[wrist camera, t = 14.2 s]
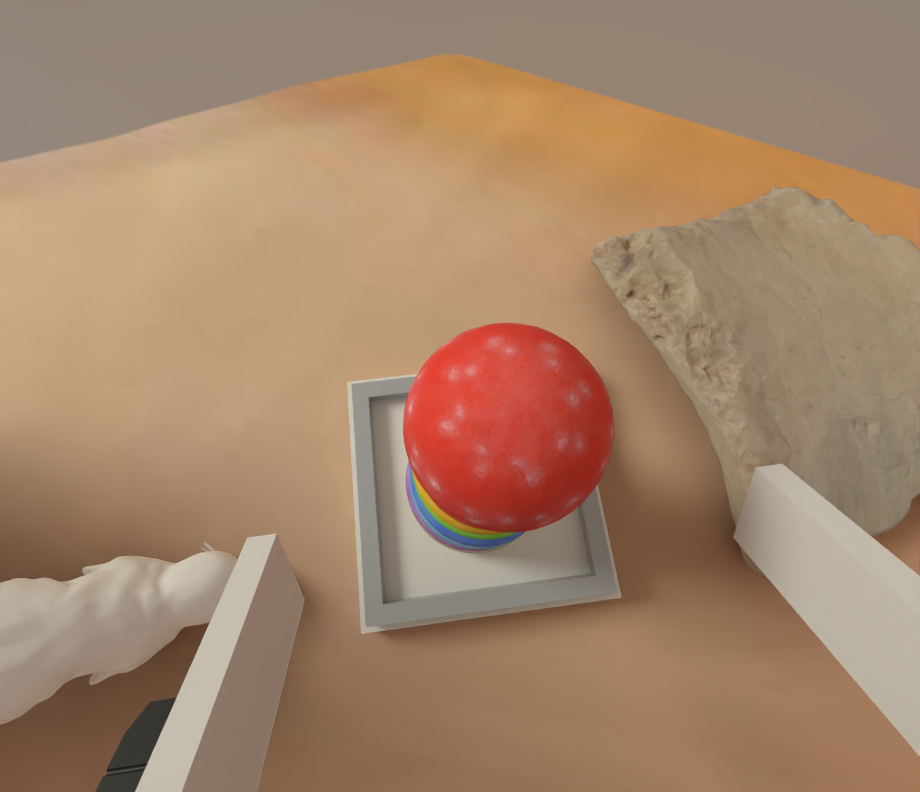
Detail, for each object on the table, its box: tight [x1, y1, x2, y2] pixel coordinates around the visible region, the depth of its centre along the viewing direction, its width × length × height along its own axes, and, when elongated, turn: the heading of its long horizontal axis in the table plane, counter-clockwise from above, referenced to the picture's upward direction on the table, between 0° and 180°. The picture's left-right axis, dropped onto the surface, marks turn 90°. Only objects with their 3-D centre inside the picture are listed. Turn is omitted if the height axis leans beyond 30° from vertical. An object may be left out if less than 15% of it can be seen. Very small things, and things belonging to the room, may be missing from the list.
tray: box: [347, 374, 622, 634], centre depth 26 cm, size 15×15×2 cm
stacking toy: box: [403, 323, 613, 554], centre depth 17 cm, size 8×8×19 cm
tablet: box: [591, 187, 920, 578], centre depth 27 cm, size 24×8×20 cm
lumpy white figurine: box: [0, 542, 238, 725], centre depth 22 cm, size 6×8×12 cm
